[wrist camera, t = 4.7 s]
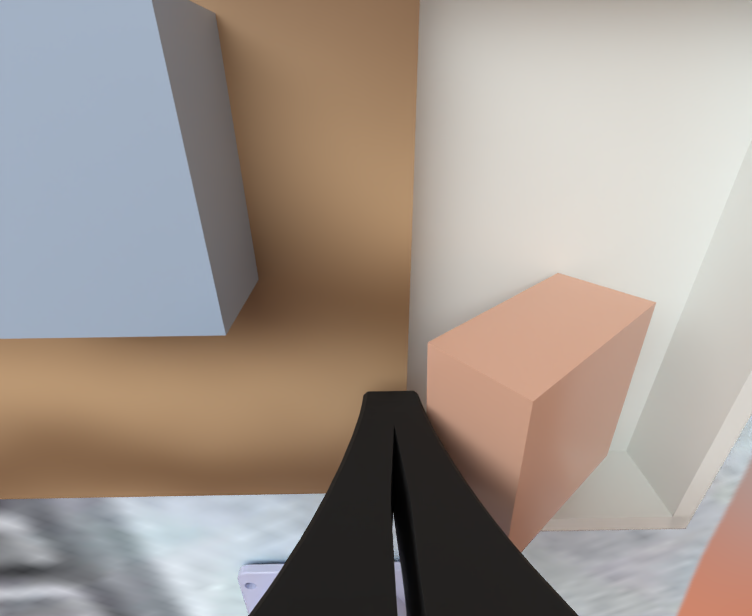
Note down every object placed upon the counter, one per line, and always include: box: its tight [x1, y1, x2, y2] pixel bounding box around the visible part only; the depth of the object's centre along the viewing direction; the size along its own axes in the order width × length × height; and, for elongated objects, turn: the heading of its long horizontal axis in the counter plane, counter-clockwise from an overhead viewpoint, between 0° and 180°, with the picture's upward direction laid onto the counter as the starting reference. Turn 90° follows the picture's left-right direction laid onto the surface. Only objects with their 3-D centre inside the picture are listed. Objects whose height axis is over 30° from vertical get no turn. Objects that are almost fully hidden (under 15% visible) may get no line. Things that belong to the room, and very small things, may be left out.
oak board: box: [0, 0, 420, 499], centre depth 10 cm, size 14×14×2 cm
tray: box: [407, 0, 752, 531], centre depth 10 cm, size 15×9×3 cm, turn 1°
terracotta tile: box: [426, 273, 656, 552], centre depth 10 cm, size 5×5×2 cm
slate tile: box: [0, 0, 259, 339], centre depth 7 cm, size 5×5×2 cm
